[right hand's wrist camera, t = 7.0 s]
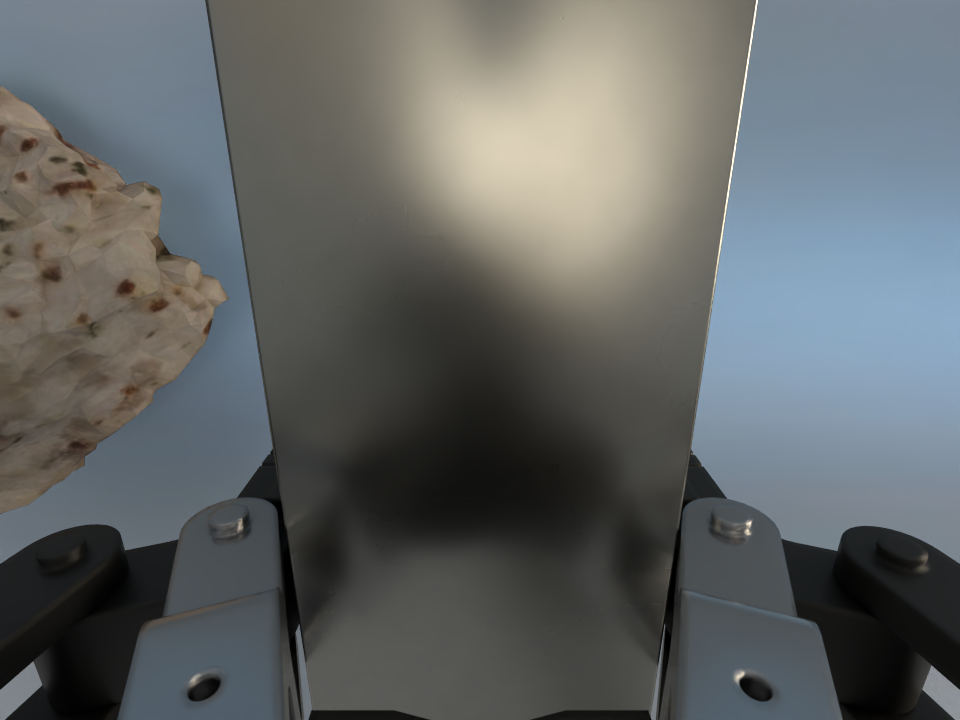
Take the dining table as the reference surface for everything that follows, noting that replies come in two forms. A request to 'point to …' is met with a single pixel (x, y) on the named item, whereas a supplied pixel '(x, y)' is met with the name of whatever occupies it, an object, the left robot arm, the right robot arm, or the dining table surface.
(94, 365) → the rock
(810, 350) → the dining table surface
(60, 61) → the dining table surface
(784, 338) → the dining table surface
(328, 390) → the bar
